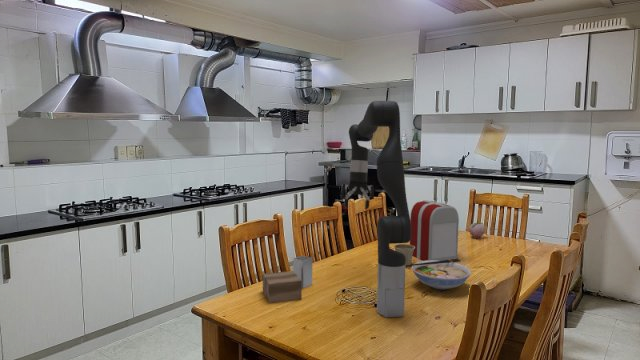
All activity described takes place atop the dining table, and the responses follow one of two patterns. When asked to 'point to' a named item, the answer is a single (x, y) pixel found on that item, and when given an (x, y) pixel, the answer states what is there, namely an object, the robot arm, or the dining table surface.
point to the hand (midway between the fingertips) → (356, 208)
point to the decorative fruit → (477, 229)
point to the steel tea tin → (303, 269)
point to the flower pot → (405, 251)
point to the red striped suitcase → (434, 231)
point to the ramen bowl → (441, 273)
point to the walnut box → (282, 286)
